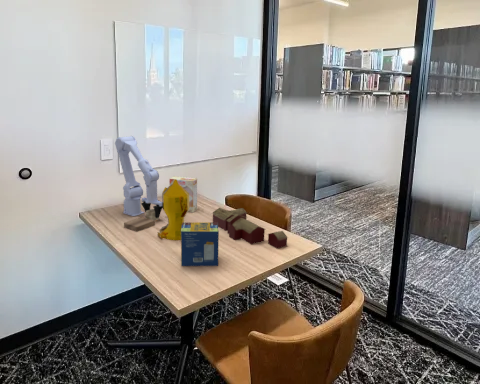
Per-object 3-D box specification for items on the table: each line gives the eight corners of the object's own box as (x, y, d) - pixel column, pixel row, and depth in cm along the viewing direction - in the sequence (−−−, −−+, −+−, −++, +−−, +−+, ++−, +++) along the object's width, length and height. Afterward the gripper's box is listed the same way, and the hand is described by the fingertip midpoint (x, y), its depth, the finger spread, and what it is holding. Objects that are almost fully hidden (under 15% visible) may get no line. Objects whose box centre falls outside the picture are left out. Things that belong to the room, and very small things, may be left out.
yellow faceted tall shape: (169, 246, 169) (168, 187, 161) (149, 229, 188) (147, 176, 180) (202, 238, 178) (202, 183, 171) (180, 223, 198) (179, 173, 190)
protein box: (182, 255, 160) (182, 222, 156) (217, 255, 161) (218, 222, 157) (180, 266, 150) (180, 231, 146) (218, 266, 151) (219, 231, 147)
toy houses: (208, 224, 198) (208, 206, 196) (239, 218, 210) (240, 201, 207) (258, 255, 163) (259, 234, 160) (292, 246, 174) (294, 226, 171)
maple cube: (146, 219, 203) (145, 210, 201) (153, 217, 207) (152, 208, 205) (152, 221, 200) (152, 212, 199) (159, 218, 204) (159, 210, 203)
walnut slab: (124, 228, 190) (123, 222, 189) (141, 221, 200) (141, 216, 199) (137, 232, 185) (137, 227, 184) (154, 225, 194) (154, 220, 194)
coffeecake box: (169, 210, 219) (168, 178, 214) (174, 206, 226) (173, 175, 221) (193, 212, 216) (193, 180, 211) (197, 209, 223) (197, 177, 218)
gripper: (137, 191, 200) (138, 215, 204) (155, 196, 192) (156, 220, 196) (146, 189, 206) (147, 212, 209) (165, 193, 198) (166, 217, 202)
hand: (152, 216), depth 203 cm, fingers open, 7 cm apart
